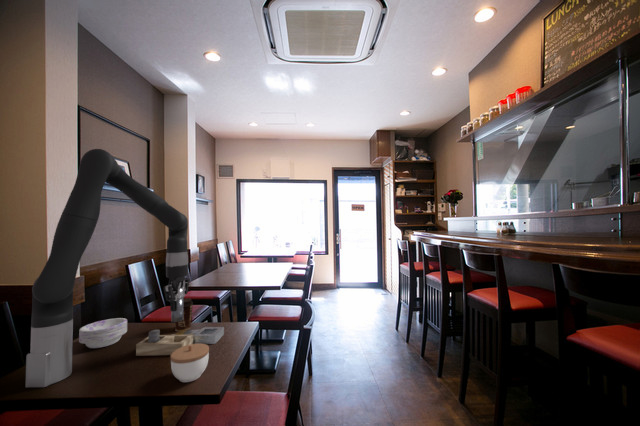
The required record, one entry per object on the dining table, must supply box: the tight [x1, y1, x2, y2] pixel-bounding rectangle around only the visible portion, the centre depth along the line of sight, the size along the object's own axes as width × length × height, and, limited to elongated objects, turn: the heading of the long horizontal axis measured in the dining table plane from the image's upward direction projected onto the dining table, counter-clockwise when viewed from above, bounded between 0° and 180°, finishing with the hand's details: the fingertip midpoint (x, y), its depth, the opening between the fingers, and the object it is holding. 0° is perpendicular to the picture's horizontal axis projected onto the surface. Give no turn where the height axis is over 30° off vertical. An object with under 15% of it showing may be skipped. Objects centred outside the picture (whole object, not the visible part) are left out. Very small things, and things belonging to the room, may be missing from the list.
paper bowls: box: [78, 317, 128, 349], centre depth 107 cm, size 15×15×8 cm
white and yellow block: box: [175, 329, 200, 335], centre depth 108 cm, size 4×8×3 cm, turn 89°
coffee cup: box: [174, 297, 194, 332], centre depth 120 cm, size 9×8×13 cm
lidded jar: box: [170, 344, 210, 383], centre depth 81 cm, size 11×11×9 cm
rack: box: [135, 329, 193, 357], centre depth 99 cm, size 8×17×7 cm, turn 89°
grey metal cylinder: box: [170, 288, 183, 323], centre depth 100 cm, size 4×4×12 cm
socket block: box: [193, 326, 225, 345], centre depth 107 cm, size 9×9×3 cm
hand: (177, 308), depth 99 cm, fingers closed on grey metal cylinder, 4 cm apart
